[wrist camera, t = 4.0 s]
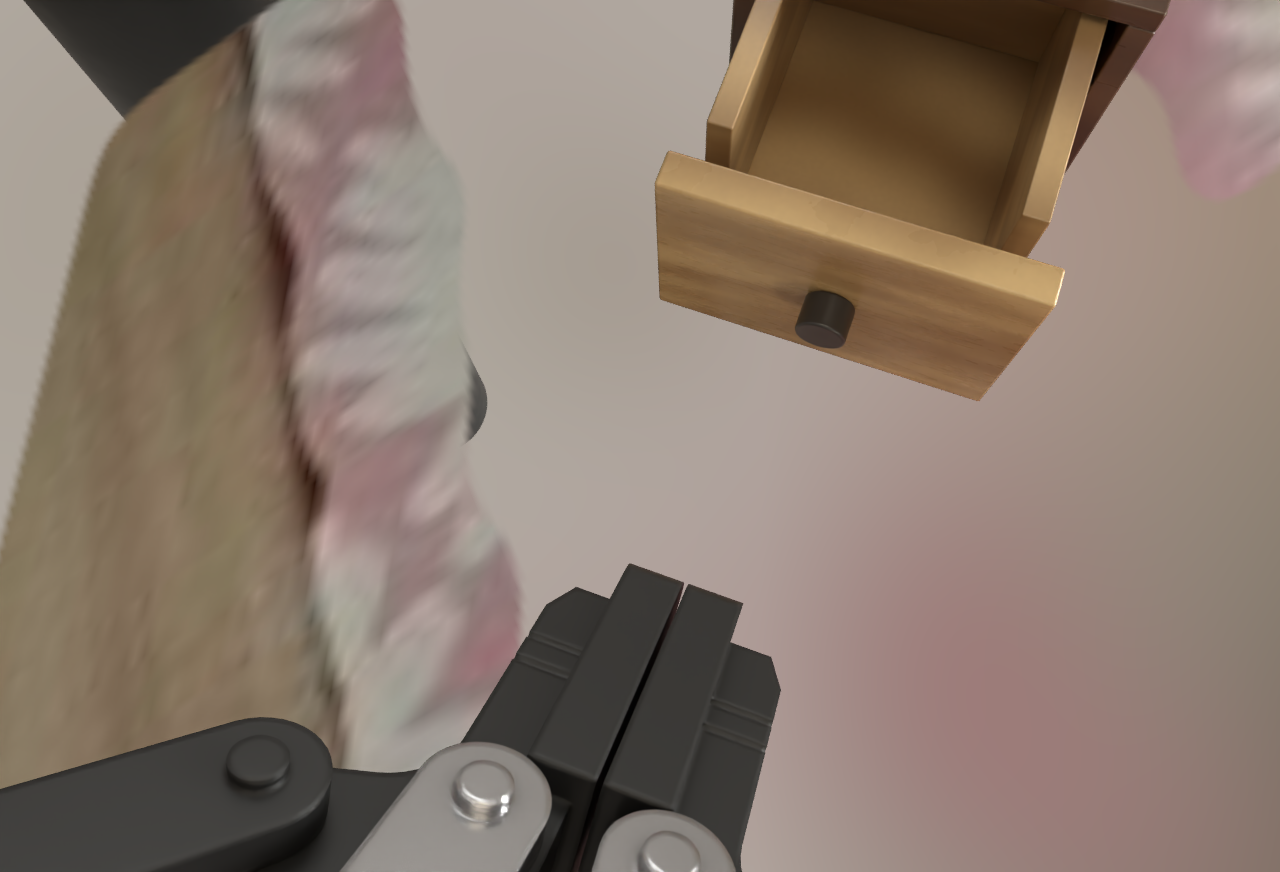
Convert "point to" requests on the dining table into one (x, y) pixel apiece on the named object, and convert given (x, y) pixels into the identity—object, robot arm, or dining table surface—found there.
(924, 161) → the wooden drawer with knob
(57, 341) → the dining table surface
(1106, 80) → the wooden drawer box
